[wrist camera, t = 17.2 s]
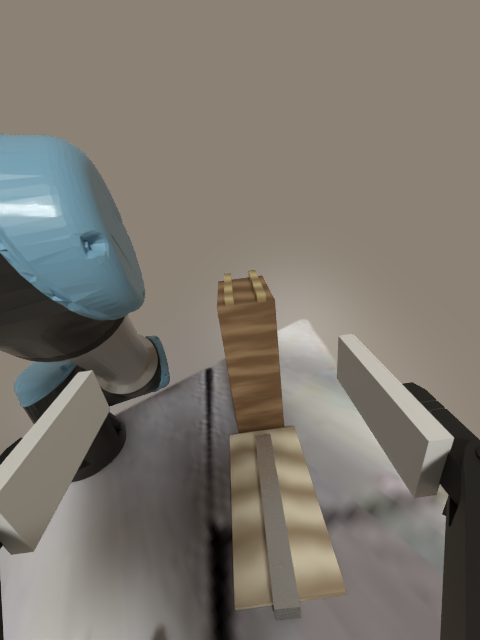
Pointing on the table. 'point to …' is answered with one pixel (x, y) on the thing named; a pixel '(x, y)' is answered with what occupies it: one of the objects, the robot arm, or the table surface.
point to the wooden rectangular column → (251, 351)
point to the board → (300, 515)
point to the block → (276, 535)
